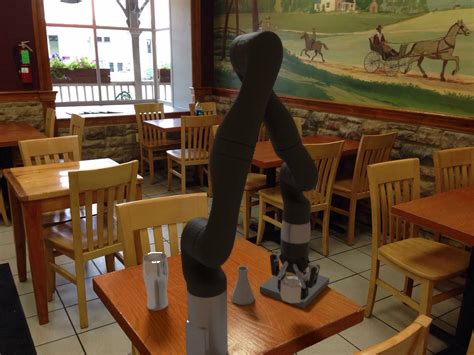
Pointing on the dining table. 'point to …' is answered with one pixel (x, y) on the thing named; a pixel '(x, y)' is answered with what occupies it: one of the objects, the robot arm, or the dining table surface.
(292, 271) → the robot arm
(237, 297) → the flask
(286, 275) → the brass gear
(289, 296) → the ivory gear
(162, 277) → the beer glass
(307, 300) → the board
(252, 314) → the dining table surface
